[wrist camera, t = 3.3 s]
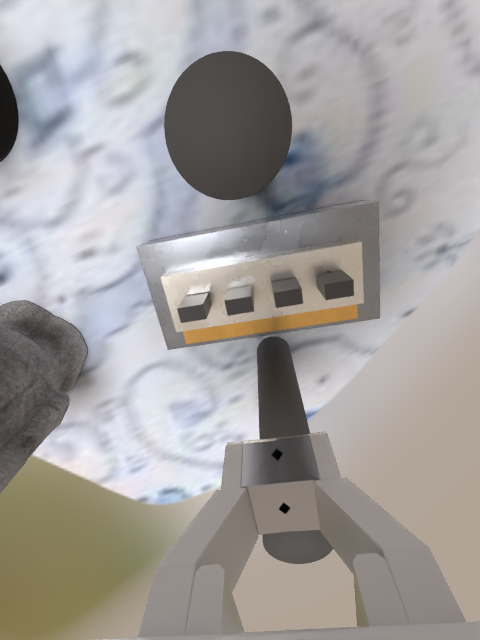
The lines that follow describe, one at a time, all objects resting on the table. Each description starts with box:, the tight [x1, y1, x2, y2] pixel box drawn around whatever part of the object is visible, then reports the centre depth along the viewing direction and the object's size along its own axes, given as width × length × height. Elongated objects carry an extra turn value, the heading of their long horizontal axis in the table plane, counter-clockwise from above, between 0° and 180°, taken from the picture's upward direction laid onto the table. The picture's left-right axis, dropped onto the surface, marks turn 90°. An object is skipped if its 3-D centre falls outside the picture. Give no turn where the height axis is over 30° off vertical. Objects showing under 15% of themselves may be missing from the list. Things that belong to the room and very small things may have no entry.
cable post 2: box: [257, 337, 333, 564], centre depth 24 cm, size 4×4×20 cm
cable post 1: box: [164, 51, 292, 200], centre depth 18 cm, size 4×4×20 cm
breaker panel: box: [137, 201, 380, 350], centre depth 28 cm, size 10×20×6 cm, turn 100°
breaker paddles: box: [177, 270, 354, 323], centre depth 23 cm, size 1×13×3 cm, turn 100°
